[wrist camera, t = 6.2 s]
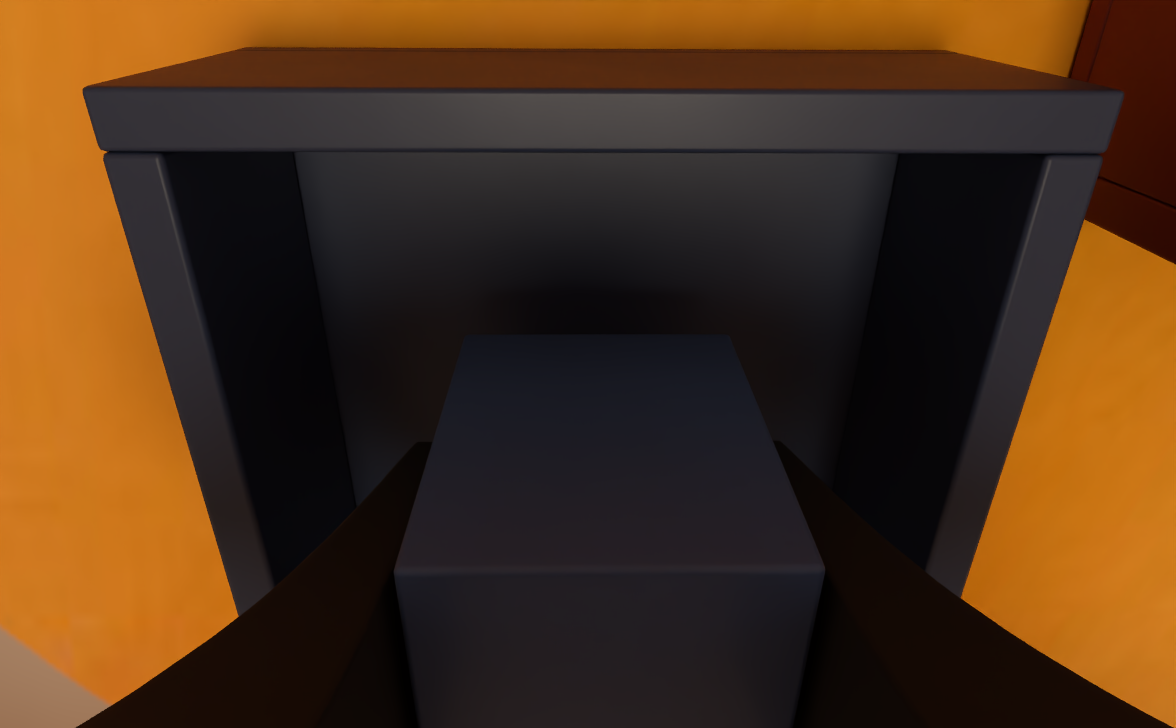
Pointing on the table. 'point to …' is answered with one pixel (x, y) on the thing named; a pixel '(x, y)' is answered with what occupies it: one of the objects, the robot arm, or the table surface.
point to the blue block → (605, 542)
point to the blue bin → (598, 255)
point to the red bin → (1135, 119)
